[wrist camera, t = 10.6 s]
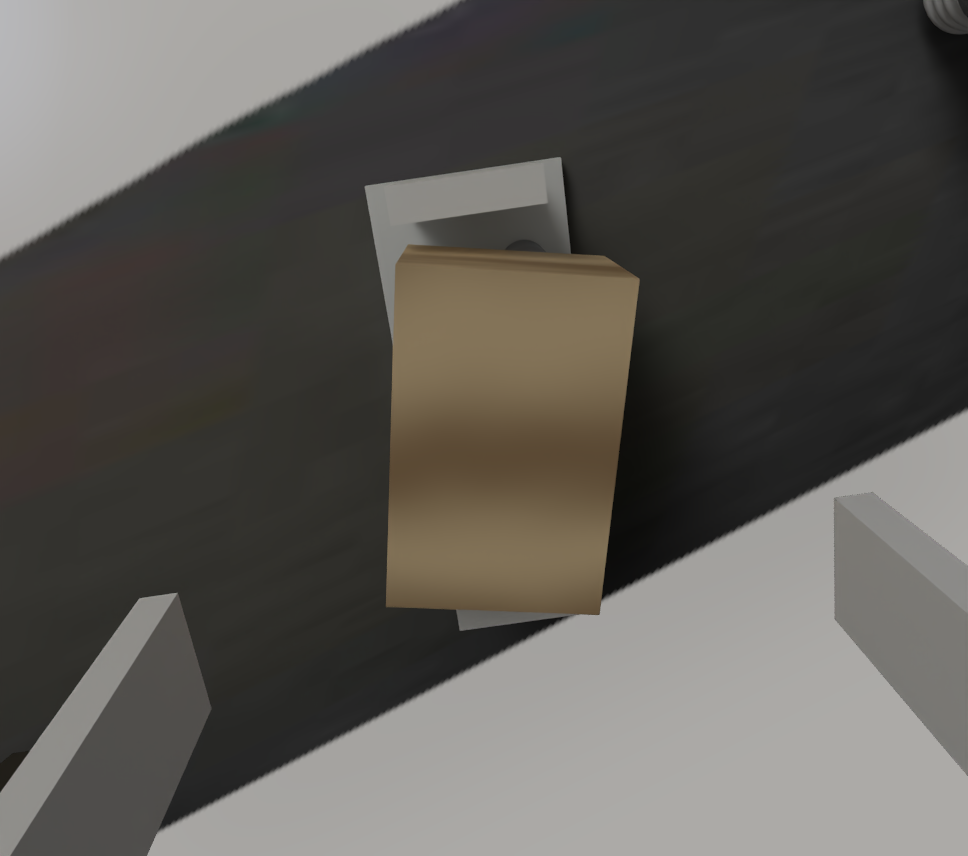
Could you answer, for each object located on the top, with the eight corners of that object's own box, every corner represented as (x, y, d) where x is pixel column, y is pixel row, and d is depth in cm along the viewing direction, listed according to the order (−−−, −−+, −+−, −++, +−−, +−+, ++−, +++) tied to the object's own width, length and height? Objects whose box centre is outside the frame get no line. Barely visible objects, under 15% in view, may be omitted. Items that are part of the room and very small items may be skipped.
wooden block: (407, 244, 29) (395, 264, 23) (604, 255, 29) (639, 278, 23) (399, 527, 32) (386, 606, 26) (574, 535, 32) (599, 615, 27)
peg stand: (428, 531, 39) (420, 636, 30) (367, 185, 34) (335, 193, 25) (594, 508, 39) (633, 606, 30) (558, 157, 34) (591, 156, 25)
